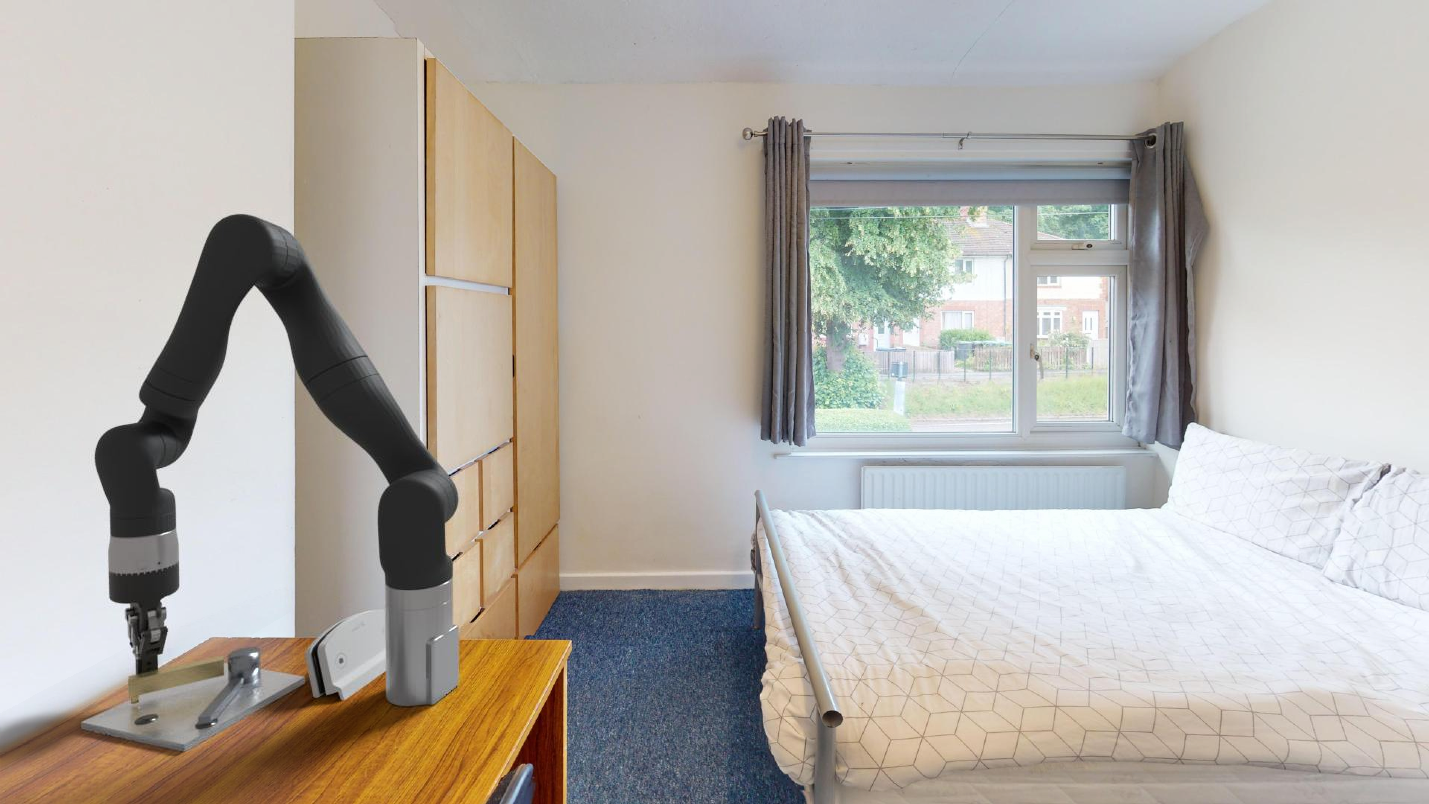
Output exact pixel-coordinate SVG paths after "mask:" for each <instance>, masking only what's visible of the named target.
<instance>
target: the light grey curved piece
mask: <svg viewBox="0 0 1429 804" xmlns="http://www.w3.org/2000/svg"><path fill="white" fill-rule="evenodd" d="M304 657H305V662H306V667H307V673H308V676H309V677H308V678H309V682H310V685H311V686H310V687H311V691H312V695H313V697H314V698H316V699H317V698H320V697H321V696H323V695H324V694H325V695H326V696H328V695H332V694H334V693H338V696H339V697H340V700H341V701H345V700H347V699H348V698H350V697H351V696H353V695H354V694H356V693H357V692H358V691H360V690H362V688H364V687H365V686H367V685H368V684H369V683H371V682H373V680H375V679H377V678H378V677H380V676H381V675H382V674H383V673H386V642H385V608H384V609H370V610H366V611H362V612H359V613H356V614H352V615H350V616H348V617H345V618H343V619H342V620H339V621H338V622H336V623H334V624H333V625H331V626H330V627H328V628H327V629H326V630H325V631H323V632H322V633H321V634H320V635H318V636H317V637H316V638H315V639H314V640H313V641H312V643H311V644H310V645H309V646H308V647H307V649H305V651H304Z"/></svg>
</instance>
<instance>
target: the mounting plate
mask: <svg viewBox="0 0 1429 804" xmlns="http://www.w3.org/2000/svg"><path fill="white" fill-rule="evenodd" d="M261 663H262V662H261V648H260V647H256V646H251V647H250V646H249V647H247V646H246V647H242V648H239V649H235V650H233V651H231V652H230V653H228V654H227V662H224V675H223V676H219V677H215V678H211V679H206V680H202V681H198V682H194V683H189V684H185V685H181V686H177V687H172V688H168V689H164V690H159V691H155V692H151V693H147V694H142V695H139V702H138V703H135V704H131V699H129V700H126V701H124V702H122V703H120V704H117V705H115V706H113V707H111V708H109V709H107V710H104V711H102V712H100V713H98V714H96V715H94V716H92V717H89V718H87V719H85V720H83V721H80V722H81V723H80V725H81V727H80V728H81V729H80V730H82V729H85V730H84V731H87V730H90V731H89V732H91V731H96V732H98V733H97V734H100V733H102V735H105V734H107V735H106V736H109V735H111V737H115V738H119V737H122V738H121V739H123V738H125V740H129V741H132V740H134V742H136V743H137V742H138V743H142V744H146V745H151V746H156V747H161V748H166V749H169V750H174V751H178V752H184V753H185V752H187V751H189V750H191V749H192V748H194V747H196V746H197V745H199V744H201V743H203V742H204V741H206V740H208V739H209V738H212V737H213V736H215V735H217V734H218V733H220V732H222V731H224V730H225V729H227V728H229V727H231V726H233V725H235V724H236V723H238V722H240V721H241V720H243V719H245V718H247V717H249V716H250V715H252V714H254V713H256V712H257V711H259V710H261V709H263V708H264V707H266V706H268V705H270V704H271V703H273V702H275V701H277V700H278V699H280V698H282V697H283V696H286V695H287V694H289V693H291V692H293V691H294V690H296V689H298V688H299V687H301V686H304V684H306V676H302V675H296V674H291V673H287V672H280V671H274V670H268V669H263V668H262V667H261V666H262V665H261ZM96 732H95V733H96Z"/></svg>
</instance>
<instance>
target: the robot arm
mask: <svg viewBox="0 0 1429 804" xmlns="http://www.w3.org/2000/svg"><path fill="white" fill-rule="evenodd" d="M254 287H256V288H257V290H258V291H259V293H261V294H262V296H263V297H264V299H266V301H267V302H268V303H269V304H270V306H271V308H272V309H273V311H274V312H275V313H276V314H277V316H278V318H279V320H280V321H281V323H282V325H283V327H284V329H285V331H286V334H287V338H288V342H289V347H290V352H291V356H292V359H293V360H292V361H293V364H294V367H295V370H296V373H297V375H298V377H299V379H300V381H301V383H302V384H303V386H304V387H305V389H306V391H307V393H309V395H310V396H311V398H312V399H313V401H314V403H315V404H316V406H317V407H318V409H319V410H320V411H321V413H322V414H323V416H325V418H326V419H327V420H329V422H331V423H332V424H333V426H335V427H336V428H337V429H338V430H339V431H341V433H343V434H344V435H345V436H347V437H348V438H349V439H350V440H351V441H353V442H354V443H355V444H357V445H358V446H359V447H360V448H361V449H363V451H365V452H366V453H367V454H368V455H369V456H370V458H371V459H372V460H373V461H374V462H375V464H376V465H377V467H378V469H379V470H380V471H381V473H382V474H383V476H384V478H385V479H386V482H387V483H388V486H387V487H386V488H385V489H384V490H383V492H382V494H381V495H380V499H379V502H378V507H377V535H378V536H377V537H378V554H379V563H380V566H381V569H382V570H383V572H384V582H385V583H384V603H385V605H384V607H385V608H384V609H385V642H386V671H385V698H386V699H387V702H389V703H390V704H393V705H396V706H400V707H414V706H415V707H416V706H421V705H432V706H433V705H435V704H437V703H438V702H439V701H441V699H443V698H444V697H445V696H447V695H448V694H449V693H451V692H452V691H453V690H454V689H455V688H456V686H457V685H458V684H460V679H459V678H460V676H459V675H460V673H459V671H460V670H459V668H460V665H459V664H460V658H459V657H460V656H459V654H460V652H459V651H460V648H459V647H460V641H459V639H460V635H459V634H460V631H459V629H460V628H459V626H458V625H457V624H454V617H453V616H454V611H453V610H454V608H453V607H454V605H453V604H454V603H453V601H454V600H453V599H454V597H453V595H454V594H453V591H454V590H453V589H454V585H453V584H454V583H453V582H454V581H453V580H454V579H453V578H454V563H453V559H452V557H451V555H450V556H449V554H447V549H446V548H447V546H446V523H447V522H448V521H450V520H451V519H452V518H453V516H454V515H455V513H456V512H457V509H458V506H459V505H458V504H459V493H458V489H457V487H456V484H455V483H454V481H453V479H452V478H451V477H450V476H449V474H448V473H447V471H446V469H444V468H443V467H442V465H441V464H440V463H439V462H438V461H437V459H436V458H435V457H434V455H432V453H431V452H430V450H429V449H428V448H427V447H426V445H425V444H424V443H423V442H422V441H421V439H420V437H419V436H418V435H417V434H416V432H415V430H414V429H413V427H412V426H411V424H410V422H409V420H408V419H407V417H406V415H405V413H404V412H403V410H402V408H401V406H400V405H399V404H398V402H397V400H396V399H395V397H394V396H393V394H392V393H391V391H390V389H389V388H388V386H387V384H386V383H385V381H384V379H383V377H382V375H381V374H380V372H379V371H378V369H377V368H376V366H375V365H374V363H373V362H372V360H371V359H370V357H369V355H367V353H366V351H365V350H364V349H363V347H362V346H361V344H360V343H359V341H358V340H357V339H356V337H355V335H354V334H353V333H352V330H351V329H350V328H349V326H348V324H347V323H346V322H345V320H344V319H343V317H342V316H341V315H340V313H339V312H338V311H337V310H336V308H335V306H334V304H332V302H331V300H330V299H329V297H328V296H327V294H326V292H325V290H324V287H323V286H322V284H321V282H320V280H319V278H318V276H317V274H316V272H315V270H314V268H313V266H312V264H311V261H310V259H309V258H308V256H307V254H306V252H305V250H304V247H303V246H302V245H301V243H300V242H299V240H298V238H296V237H295V236H294V235H293V234H292V233H291V232H290V231H288V230H287V229H285V228H283V227H282V226H280V225H277V224H275V223H272V222H270V221H269V220H265V219H263V218H260V217H257V216H254V215H251V214H245V213H235V214H231V215H230V214H229V215H228V216H226V217H223V218H221V219H220V220H218V221H217V222H216V223H215V224H214V226H213V227H212V228H211V229H210V231H209V233H208V236H207V238H206V239H205V243H204V244H203V247H202V251H201V254H200V256H199V259H198V263H197V265H196V268H195V271H194V274H193V277H192V280H191V283H190V285H189V288H188V291H187V294H186V297H185V299H184V302H183V305H182V307H181V310H180V311H179V315H178V317H177V319H176V322H175V324H174V326H173V329H172V331H171V334H170V335H169V337H168V339H167V341H166V342H165V345H164V347H163V348H162V350H161V352H160V353H159V355H158V357H157V358H156V360H155V361H154V363H153V365H152V367H151V369H150V370H149V372H148V373H147V376H146V377H145V379H144V381H143V382H142V384H141V387H140V389H139V393H138V399H139V401H140V403H142V404H143V406H145V408H144V410H143V413H142V415H141V416H140V418H139V420H138V421H137V422H133V423H126V424H122V425H116V426H113V427H112V428H109V429H107V430H106V431H105V432H104V433H103V434H102V435H101V436H100V438H99V439H98V441H97V444H96V447H95V449H94V464H95V471H96V472H97V473H96V474H97V475H98V478H99V480H100V481H99V482H100V485H101V487H102V489H103V493H104V495H105V497H106V500H107V503H108V504H109V533H110V535H109V545H108V550H107V552H108V553H107V555H108V556H107V558H108V559H107V561H108V562H107V563H108V567H107V568H108V597H109V600H110V601H111V602H113V603H116V604H120V605H121V604H123V605H129V607H126V608H125V609H124V619H125V620H126V623H127V638H128V639H129V646H130V648H132V651H131V652H132V655H133V656H134V657H135V658H134V659H135V675H137V674H141V673H146V672H150V671H155V670H159V655H163V653H164V649H165V645H166V641H167V637H168V633H169V628H167V625H165V621H166V619H167V611H168V610H167V607H166V606H163V603H162V601H161V600H163V599H164V598H166V597H169V596H172V595H173V594H175V593H176V592H177V591H178V590H179V588H180V549H179V547H180V546H179V545H180V544H179V538H178V533H177V505H176V497H175V494H174V493H173V491H172V490H170V489H168V488H167V487H166V488H165V487H161V485H160V481H159V477H158V473H157V470H160V469H163V468H166V467H169V466H172V464H174V463H176V461H178V460H179V459H180V457H181V456H182V455H183V454H184V452H185V451H186V450H187V449H188V446H189V444H190V442H191V439H192V436H193V433H194V431H195V426H196V423H197V421H198V415H199V409H200V408H201V407H202V405H203V403H204V402H205V400H206V398H207V397H208V395H209V393H210V392H211V390H212V388H213V386H214V385H215V383H216V381H217V379H219V376H220V373H221V371H222V369H223V366H224V363H225V359H226V357H227V356H226V355H227V350H228V345H229V335H230V330H231V326H232V323H233V321H234V318H235V315H236V313H237V310H238V308H239V307H240V305H241V303H242V302H243V300H244V299H245V297H246V296H247V295H248V294H249V292H250V291H251V290H252V289H253V288H254ZM458 686H459V685H458ZM458 686H457V687H458ZM451 690H452V691H451ZM446 694H447V695H446Z"/></svg>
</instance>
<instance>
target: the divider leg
mask: <svg viewBox="0 0 1429 804" xmlns="http://www.w3.org/2000/svg"><path fill="white" fill-rule="evenodd" d="M224 658H225V657H224V655H220V656H215V657H211V658H210V657H209V658H206V659H202V660H201V659H200V660H196V661H193V662H187V663H182V664H179V665H173V666H169V667H165V668H161V669H159V668H158V670H155V671H150V672H146V673H141V674H137V675H136V674H134V675H133V674H132V675H128V678H127V679H128V680H127V688H128V689H127V690H128V698H130V700H131V704H135V703H138V702H139V695H142V694H147V693H151V692H155V691H159V690H164V689H168V688H172V687H177V686H181V685H185V684H189V683H194V682H198V681H202V680H206V679H211V678H215V677H219V676H223V675H224V663H225V660H224Z"/></svg>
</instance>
